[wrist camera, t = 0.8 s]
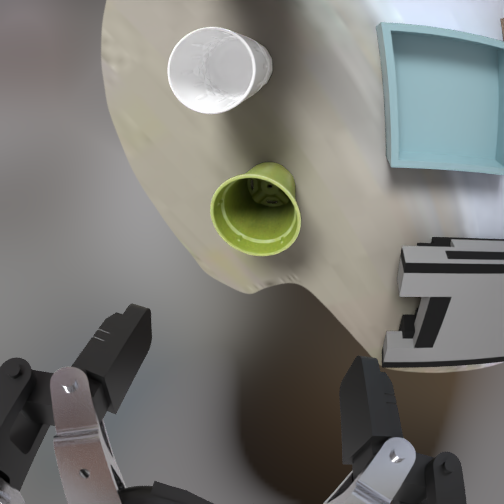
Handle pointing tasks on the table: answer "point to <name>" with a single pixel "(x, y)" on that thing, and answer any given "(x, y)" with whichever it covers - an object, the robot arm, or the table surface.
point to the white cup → (217, 69)
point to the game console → (450, 304)
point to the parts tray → (442, 98)
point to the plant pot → (257, 210)
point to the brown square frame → (503, 24)
